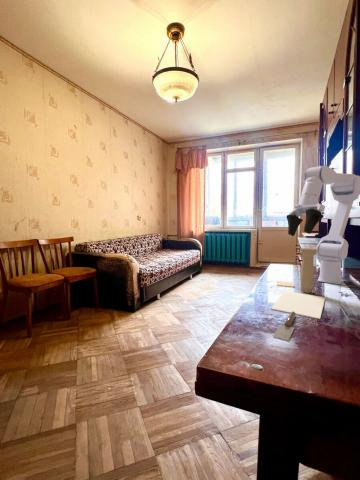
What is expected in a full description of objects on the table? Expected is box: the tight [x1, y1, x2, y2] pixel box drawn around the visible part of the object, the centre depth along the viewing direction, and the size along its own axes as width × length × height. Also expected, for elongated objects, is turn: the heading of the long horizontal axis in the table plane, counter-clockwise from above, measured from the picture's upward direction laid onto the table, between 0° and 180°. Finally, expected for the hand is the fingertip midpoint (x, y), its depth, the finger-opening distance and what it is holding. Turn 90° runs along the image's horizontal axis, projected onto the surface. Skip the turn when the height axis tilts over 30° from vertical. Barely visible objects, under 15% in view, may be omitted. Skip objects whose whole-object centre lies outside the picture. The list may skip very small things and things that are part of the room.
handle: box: [299, 247, 317, 294], centre depth 85 cm, size 5×6×15 cm
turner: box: [273, 312, 297, 342], centre depth 58 cm, size 15×3×1 cm, turn 146°
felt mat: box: [270, 290, 326, 320], centre depth 74 cm, size 20×12×1 cm, turn 146°
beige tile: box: [275, 280, 295, 288], centre depth 95 cm, size 6×6×1 cm
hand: (298, 233), depth 84 cm, fingers open, 7 cm apart
